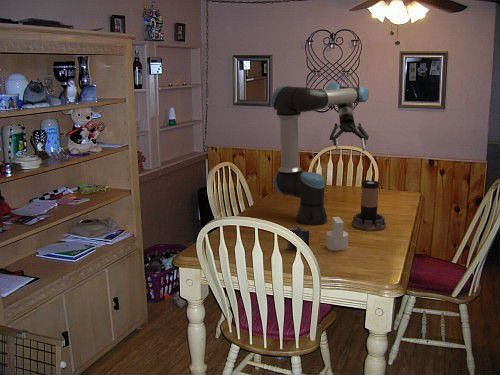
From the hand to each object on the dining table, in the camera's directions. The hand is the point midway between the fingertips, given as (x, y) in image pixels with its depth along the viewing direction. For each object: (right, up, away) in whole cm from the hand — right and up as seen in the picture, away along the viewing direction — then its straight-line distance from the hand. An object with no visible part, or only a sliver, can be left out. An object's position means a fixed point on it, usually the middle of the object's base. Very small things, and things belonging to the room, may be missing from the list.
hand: (350, 150), depth 282 cm
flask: (-32, -45, -52) cm, 76 cm away
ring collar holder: (+5, -37, -20) cm, 43 cm away
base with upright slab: (-15, -45, -49) cm, 68 cm away
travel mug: (+5, -36, -20) cm, 42 cm away
